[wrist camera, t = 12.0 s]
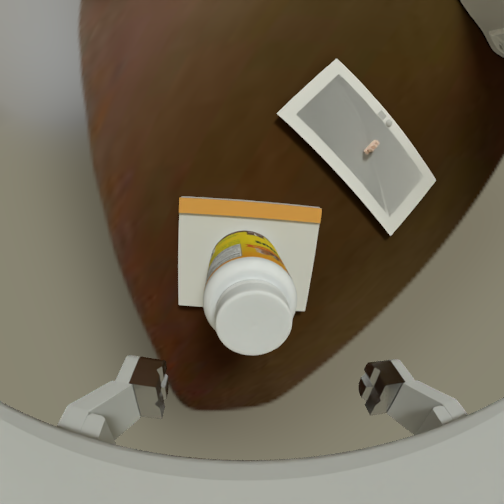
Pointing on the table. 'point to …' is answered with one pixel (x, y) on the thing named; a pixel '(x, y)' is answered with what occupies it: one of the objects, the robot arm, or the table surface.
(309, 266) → the notepad
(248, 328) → the supplement bottle
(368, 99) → the touchpad
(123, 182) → the table surface
